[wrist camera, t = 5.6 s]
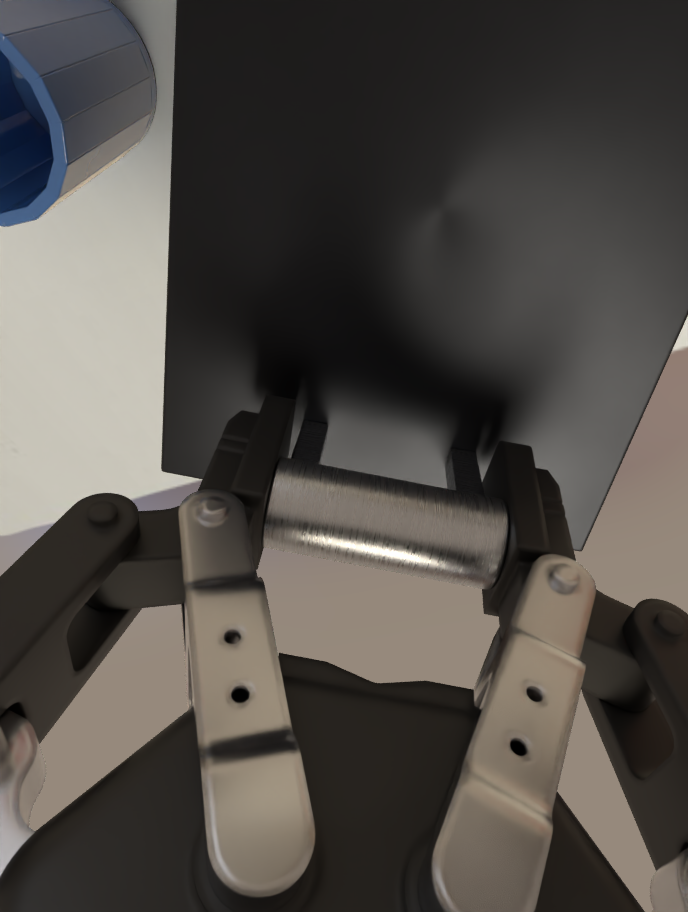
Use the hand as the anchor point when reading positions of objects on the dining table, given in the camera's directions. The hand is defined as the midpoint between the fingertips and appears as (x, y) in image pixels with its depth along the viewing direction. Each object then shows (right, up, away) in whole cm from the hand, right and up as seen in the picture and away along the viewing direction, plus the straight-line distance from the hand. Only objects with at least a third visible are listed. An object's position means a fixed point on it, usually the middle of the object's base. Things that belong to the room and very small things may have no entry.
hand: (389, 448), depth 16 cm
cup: (-11, +15, +9) cm, 21 cm away
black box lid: (+1, +6, -1) cm, 6 cm away
